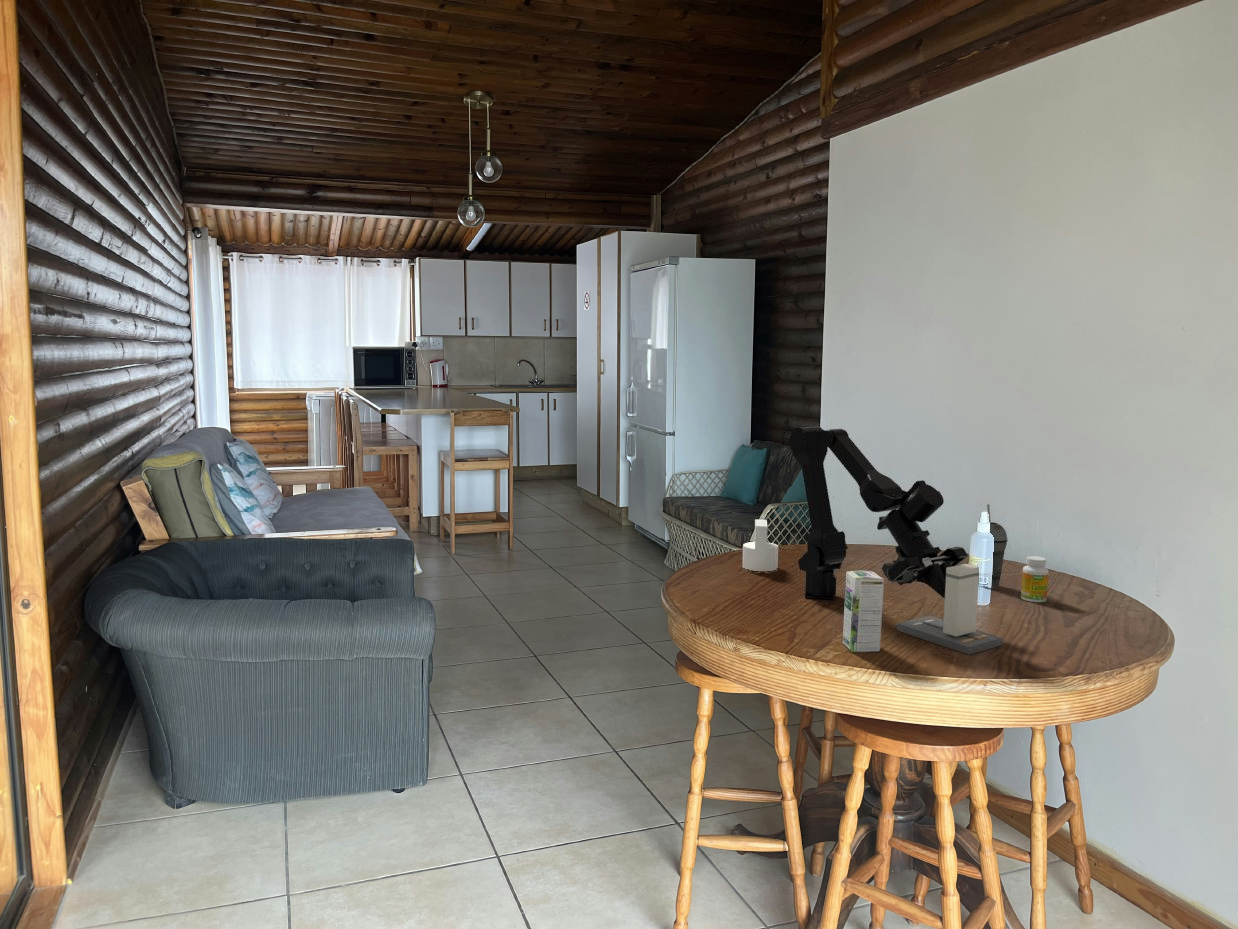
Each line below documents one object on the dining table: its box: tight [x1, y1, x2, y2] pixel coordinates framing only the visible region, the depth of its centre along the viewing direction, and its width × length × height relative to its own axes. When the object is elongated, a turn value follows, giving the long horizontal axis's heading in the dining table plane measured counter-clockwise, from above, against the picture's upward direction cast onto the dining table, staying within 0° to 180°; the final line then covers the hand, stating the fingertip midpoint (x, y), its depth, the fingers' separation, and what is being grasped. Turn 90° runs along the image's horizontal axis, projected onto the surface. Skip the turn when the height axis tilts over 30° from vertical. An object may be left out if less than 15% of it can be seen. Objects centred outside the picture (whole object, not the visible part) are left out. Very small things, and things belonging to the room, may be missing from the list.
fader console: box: [896, 615, 1003, 655], centre depth 180 cm, size 17×10×2 cm, turn 33°
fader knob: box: [943, 563, 979, 636], centre depth 177 cm, size 3×6×13 cm, turn 123°
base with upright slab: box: [742, 518, 779, 572], centre depth 234 cm, size 9×9×12 cm
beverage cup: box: [986, 503, 1009, 589], centre depth 217 cm, size 7×7×20 cm
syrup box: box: [842, 570, 885, 653], centre depth 173 cm, size 6×6×14 cm
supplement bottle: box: [1020, 555, 1049, 603], centre depth 207 cm, size 5×5×10 cm
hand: (950, 600), depth 179 cm, fingers closed
